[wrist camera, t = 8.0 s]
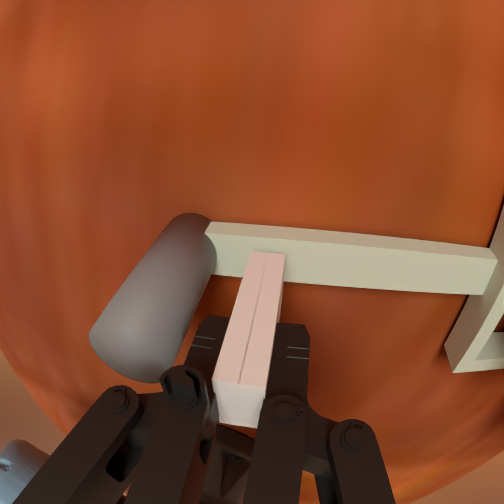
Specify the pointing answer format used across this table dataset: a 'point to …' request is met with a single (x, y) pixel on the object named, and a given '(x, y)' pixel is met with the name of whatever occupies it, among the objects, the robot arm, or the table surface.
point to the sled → (295, 270)
